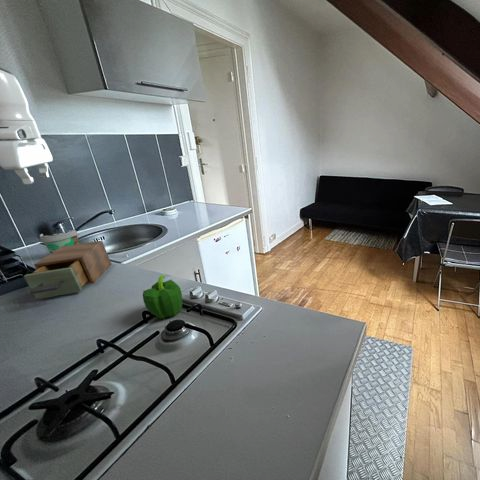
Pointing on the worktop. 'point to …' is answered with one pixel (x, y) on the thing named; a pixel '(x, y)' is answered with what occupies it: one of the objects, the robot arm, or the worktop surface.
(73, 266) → the drawer
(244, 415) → the worktop surface
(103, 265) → the cabinet
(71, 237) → the food container
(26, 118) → the robot arm
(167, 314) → the bell pepper
